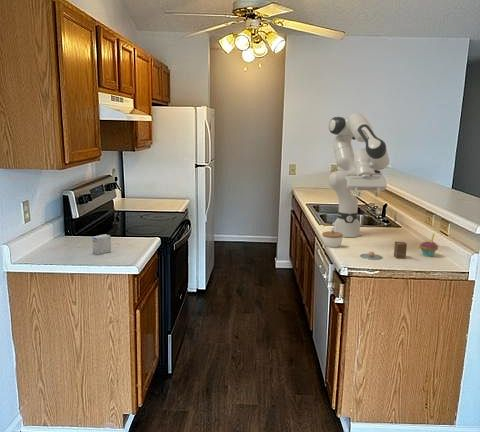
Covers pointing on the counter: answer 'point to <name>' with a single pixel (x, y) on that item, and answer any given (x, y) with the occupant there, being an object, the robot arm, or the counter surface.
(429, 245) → the cupcake
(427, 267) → the counter surface
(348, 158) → the robot arm
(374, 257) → the slate saucer
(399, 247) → the brown rectangular block
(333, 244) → the lidded jar
